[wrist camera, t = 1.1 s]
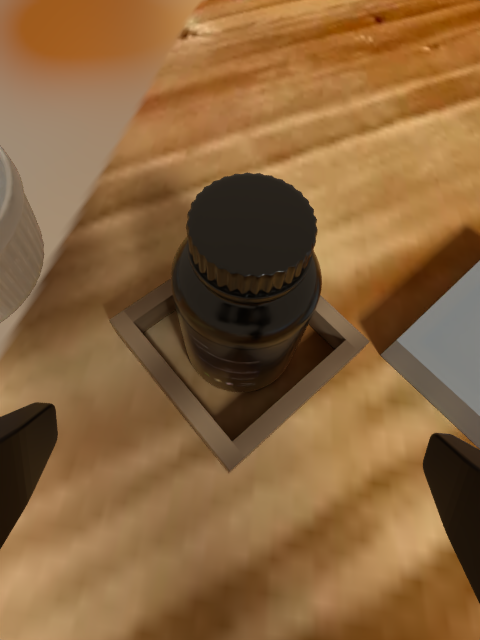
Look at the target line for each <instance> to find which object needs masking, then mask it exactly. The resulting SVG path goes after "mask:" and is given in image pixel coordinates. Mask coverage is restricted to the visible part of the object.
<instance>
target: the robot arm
mask: <svg viewBox="0 0 480 640" xmlns="http://www.w3.org/2000/svg"><path fill="white" fill-rule="evenodd" d="M57 436H58V431H57V420H56V410H55V407H54V405H53V404H50V403H38V402H37V403H33V404H30V405H28V406H26V407H23V408H21V409H18V410H16V411H14V412H11V413H9V414H7V415H4V416H2V417H0V549H1V547H2V546H3V544H4V542H5V541H6V539H7V537H8V536H9V534H10V532H11V531H12V529H13V527H14V526H15V524H16V522H17V521H18V519H19V517H20V516H21V514H22V512H23V510H24V509H25V507H26V505H27V503H28V502H29V500H30V498H31V496H32V494H33V491H34V489H35V487H36V485H37V483H38V481H39V479H40V476H41V474H42V472H43V470H44V468H45V466H46V464H47V461H48V459H49V457H50V455H51V453H52V451H53V449H54V446H55V444H56V441H57ZM423 470H424V473H425V476H426V479H427V482H428V485H429V487H430V490H431V493H432V496H433V498H434V501H435V504H436V507H437V509H438V512H439V515H440V518H441V521H442V523H443V526H444V528H445V531H446V533H447V536H448V538H449V540H450V542H451V544H452V547H453V549H454V551H455V553H456V555H457V557H458V559H459V561H460V563H461V565H462V568H463V570H464V572H465V574H466V576H467V578H468V580H469V582H470V584H471V587H472V589H473V591H474V593H475V595H476V597H477V599H478V601H479V603H480V450H479V449H477V448H475V447H473V446H471V445H470V444H468V443H466V442H464V441H462V440H461V439H459V438H457V437H455V436H454V435H451V434H443V433H434V434H432V435H431V437H430V439H429V443H428V446H427V450H426V453H425V456H424V460H423Z"/></svg>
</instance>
